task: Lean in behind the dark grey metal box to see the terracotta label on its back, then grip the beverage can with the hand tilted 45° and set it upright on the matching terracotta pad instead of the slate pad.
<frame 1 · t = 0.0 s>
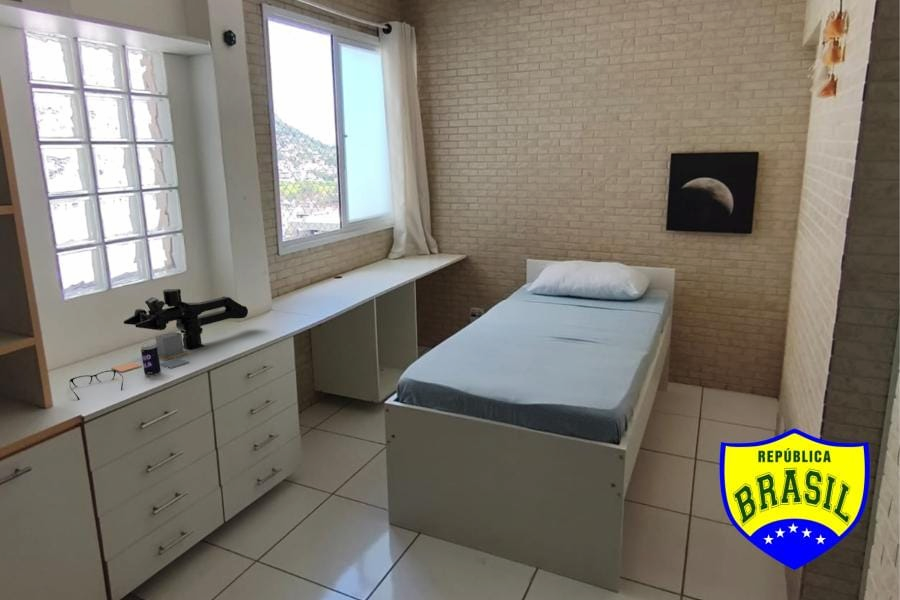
hand: (129, 324, 240), 17 cm above the table, tool horizontal, fingers open, 9 cm apart
terracotta pad: (126, 367, 239), on the table
beverage can: (153, 374, 232), on the table
eyeglasses: (97, 390, 219), on the table
slate pad: (174, 364, 243), on the table
grey unit: (171, 355, 253), on the table
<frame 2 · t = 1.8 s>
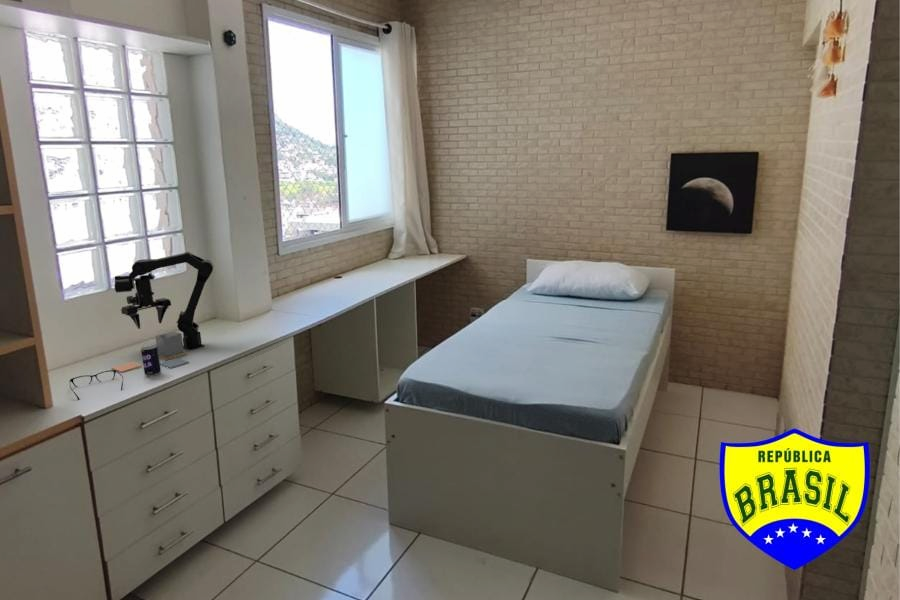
hand: (149, 326, 257), 11 cm above the table, tool pointing down, fingers open, 9 cm apart
nothing on the table moved.
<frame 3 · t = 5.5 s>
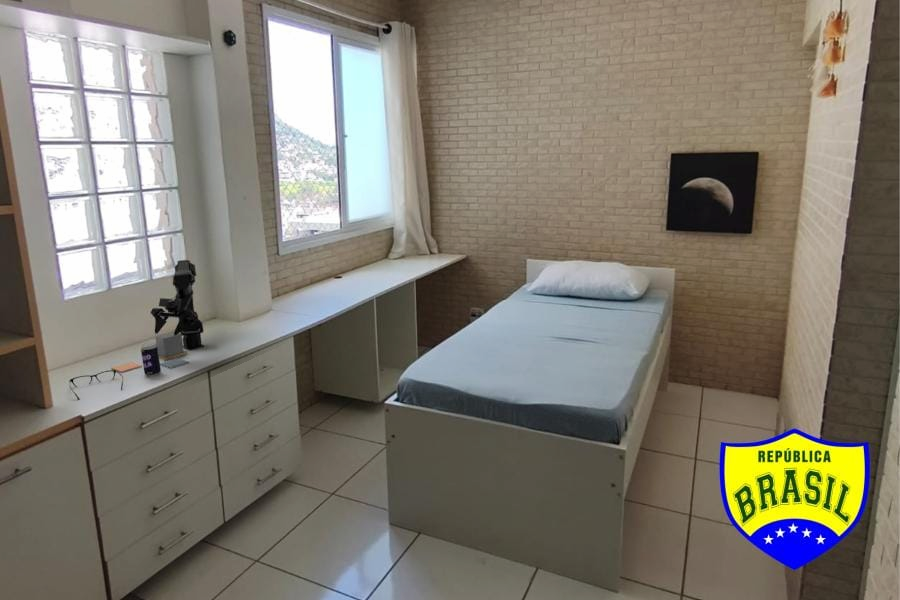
hand: (165, 334, 237), 13 cm above the table, tool tilted 45°, fingers open, 9 cm apart
nothing on the table moved.
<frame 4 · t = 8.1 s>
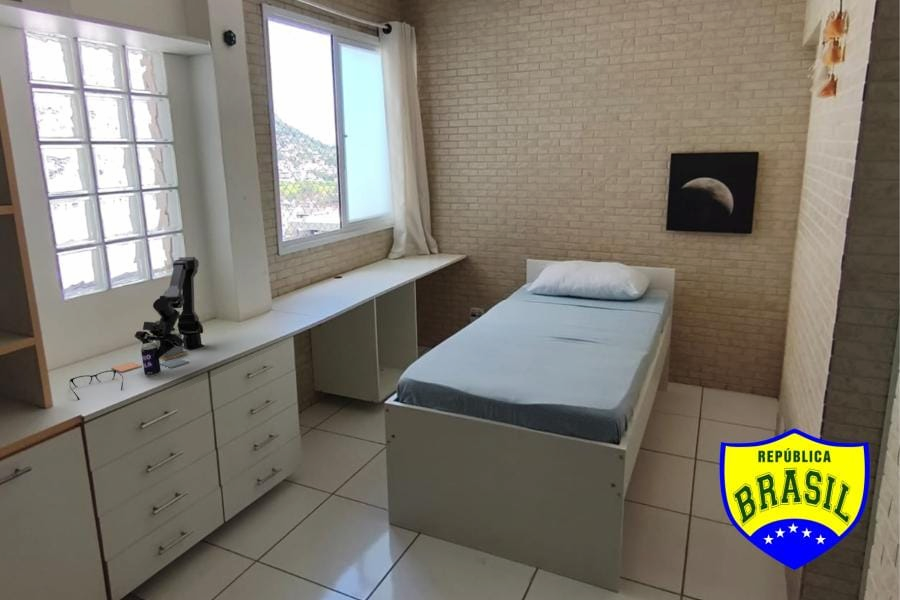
hand: (149, 358, 230), 7 cm above the table, tool tilted 45°, fingers closed on beverage can, 6 cm apart
beverage can: (153, 374, 232), on the table, touching gripper
everything else where it was.
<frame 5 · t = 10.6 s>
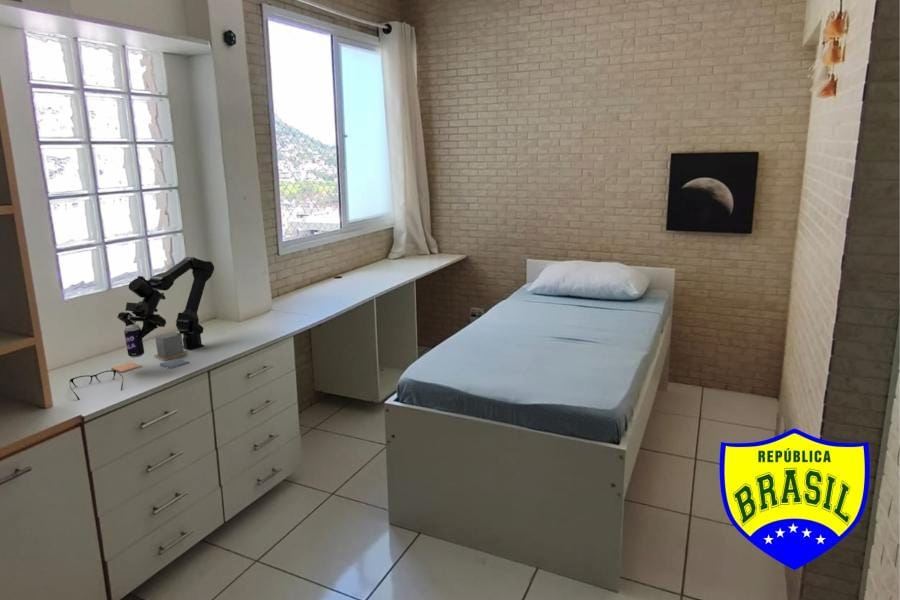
hand: (132, 338, 233), 13 cm above the table, tool tilted 45°, fingers closed on beverage can, 6 cm apart
beverage can: (136, 356, 235), point 6 cm above the table, touching gripper
everything else where it was.
when the fingers open (8 cm above the table, at t = 13.0 s): beverage can stays where it is, resting on terracotta pad.
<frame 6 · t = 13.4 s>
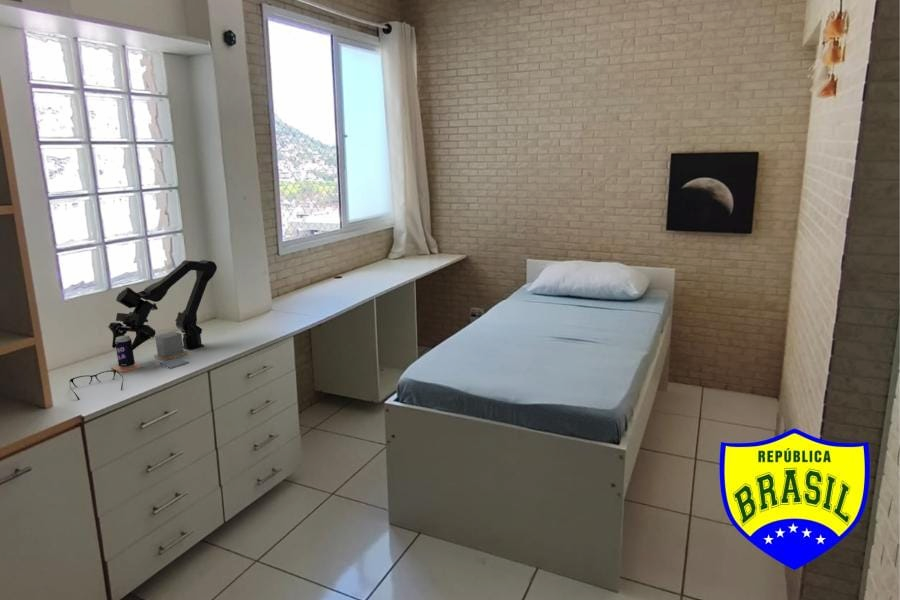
hand: (122, 348, 237), 8 cm above the table, tool tilted 45°, fingers open, 9 cm apart
beverage can: (127, 366, 240), resting on terracotta pad
everything else where it was.
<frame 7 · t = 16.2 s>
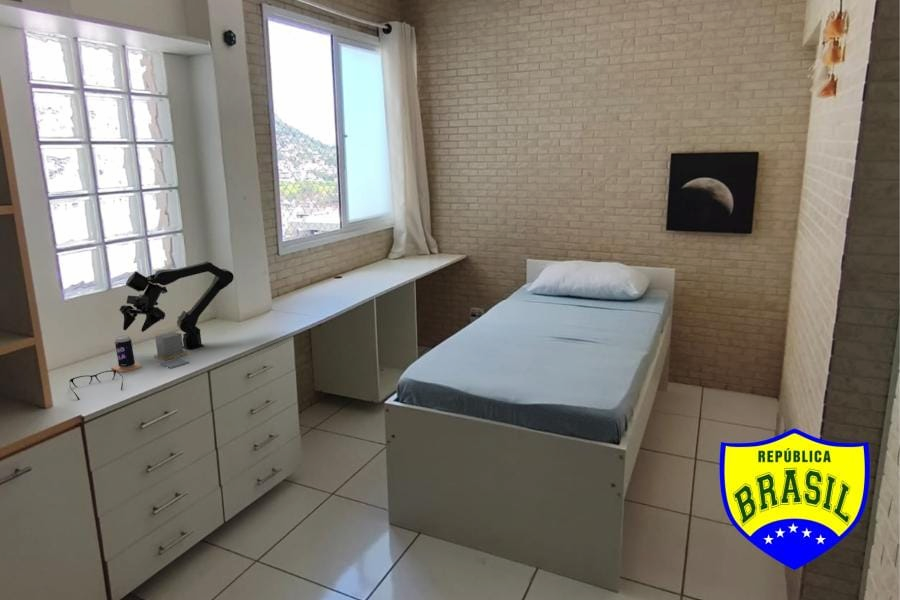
hand: (133, 330, 242), 14 cm above the table, tool tilted 45°, fingers open, 9 cm apart
nothing on the table moved.
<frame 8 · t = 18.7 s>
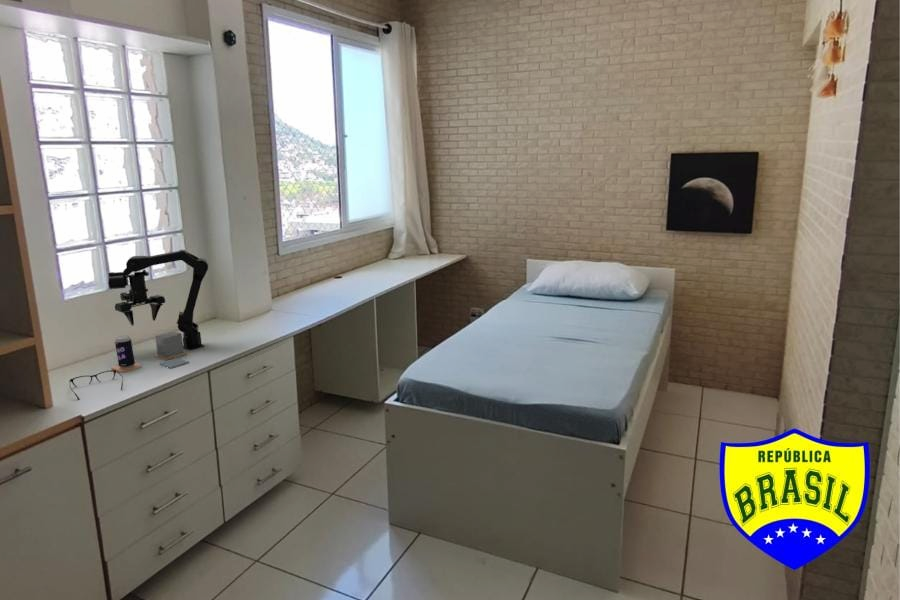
hand: (143, 323, 255), 13 cm above the table, tool pointing down, fingers open, 9 cm apart
nothing on the table moved.
at the end: beverage can 0.2 cm off-centre on the terracotta pad, point 0.4 cm above the terracotta pad's base; beverage can tilted 0°; the gripper is holding nothing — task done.
